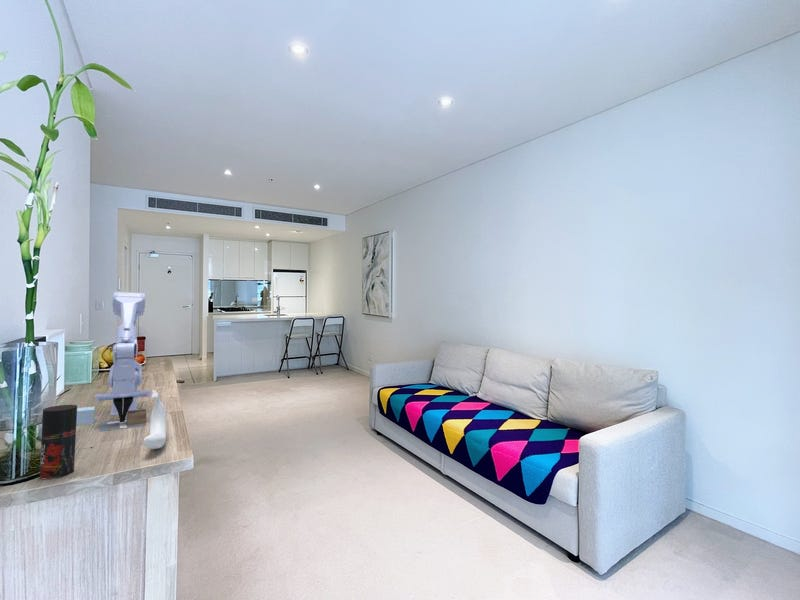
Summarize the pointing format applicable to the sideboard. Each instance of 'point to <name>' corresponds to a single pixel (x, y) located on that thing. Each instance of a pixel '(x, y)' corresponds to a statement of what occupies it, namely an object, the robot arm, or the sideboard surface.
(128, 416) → the walnut block
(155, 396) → the white curved piece
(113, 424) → the letter card
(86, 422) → the blue cube
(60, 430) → the deodorant
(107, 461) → the sideboard surface
